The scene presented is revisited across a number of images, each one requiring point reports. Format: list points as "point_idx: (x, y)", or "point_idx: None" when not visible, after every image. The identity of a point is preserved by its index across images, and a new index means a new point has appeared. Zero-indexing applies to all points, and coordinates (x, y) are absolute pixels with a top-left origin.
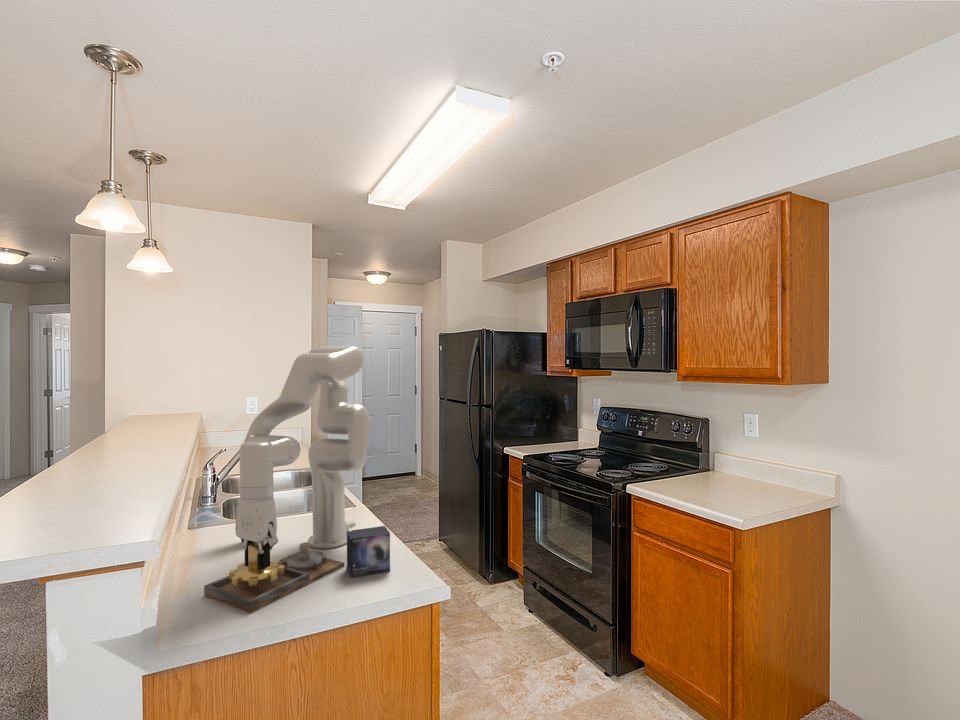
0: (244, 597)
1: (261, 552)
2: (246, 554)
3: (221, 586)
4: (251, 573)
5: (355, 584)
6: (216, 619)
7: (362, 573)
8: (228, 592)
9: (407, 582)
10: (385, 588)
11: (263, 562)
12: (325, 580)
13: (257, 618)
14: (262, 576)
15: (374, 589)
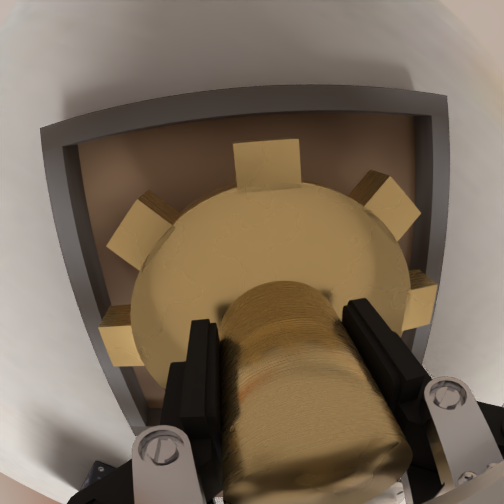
0: (109, 129)
1: (150, 441)
2: (388, 358)
3: (415, 174)
4: (236, 272)
5: (52, 440)
6: (144, 6)
7: (87, 476)
8: (256, 102)
9: (12, 463)
10: (3, 439)
11: (170, 377)
12: (129, 435)
13: (15, 132)
14: (133, 293)
15: (7, 431)
